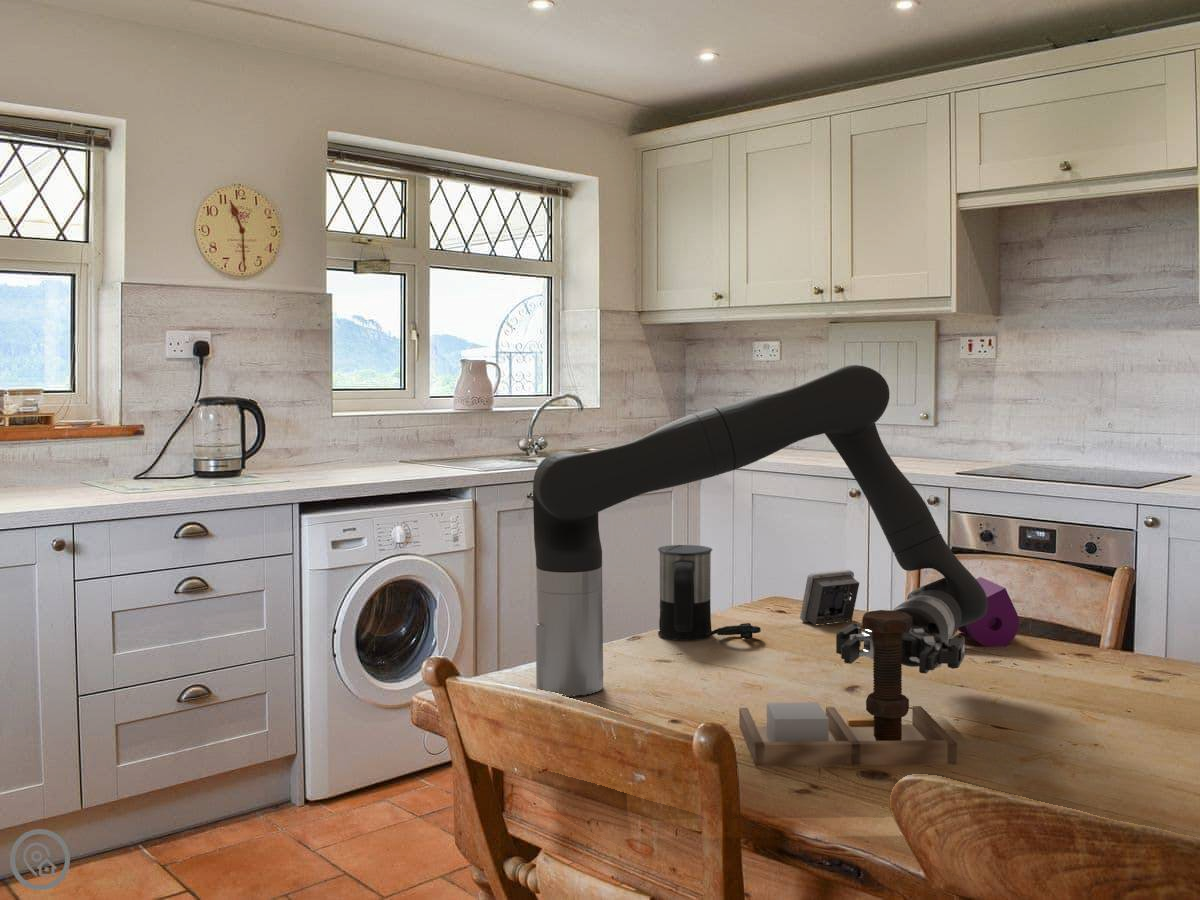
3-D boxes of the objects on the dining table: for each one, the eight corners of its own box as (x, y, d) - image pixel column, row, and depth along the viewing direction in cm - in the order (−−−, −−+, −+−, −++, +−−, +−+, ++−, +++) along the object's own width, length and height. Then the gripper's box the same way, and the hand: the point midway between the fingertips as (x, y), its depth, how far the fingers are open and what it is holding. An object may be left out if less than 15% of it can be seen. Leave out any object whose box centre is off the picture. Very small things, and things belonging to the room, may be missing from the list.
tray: (755, 776, 117) (755, 745, 116) (738, 733, 130) (738, 705, 130) (956, 774, 117) (956, 743, 116) (918, 732, 130) (918, 704, 130)
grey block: (775, 754, 120) (775, 719, 120) (766, 735, 126) (766, 702, 126) (828, 753, 120) (828, 718, 120) (817, 735, 126) (817, 702, 126)
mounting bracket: (927, 685, 170) (1026, 634, 171) (905, 638, 169) (1005, 588, 170) (906, 668, 180) (1000, 620, 180) (885, 624, 179) (980, 576, 179)
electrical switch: (842, 616, 192) (845, 566, 191) (860, 625, 188) (863, 574, 186) (798, 622, 188) (801, 571, 187) (815, 631, 184) (819, 579, 182)
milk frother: (652, 630, 183) (651, 544, 182) (739, 625, 186) (739, 541, 185) (673, 651, 169) (673, 559, 168) (767, 645, 172) (768, 554, 171)
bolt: (905, 735, 126) (905, 609, 125) (919, 749, 121) (919, 618, 120) (856, 736, 126) (856, 610, 125) (868, 751, 121) (868, 620, 120)
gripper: (863, 594, 138) (823, 620, 124) (977, 605, 131) (949, 634, 117) (862, 651, 138) (822, 683, 124) (976, 665, 131) (948, 701, 117)
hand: (884, 659), depth 121 cm, fingers open, 8 cm apart
